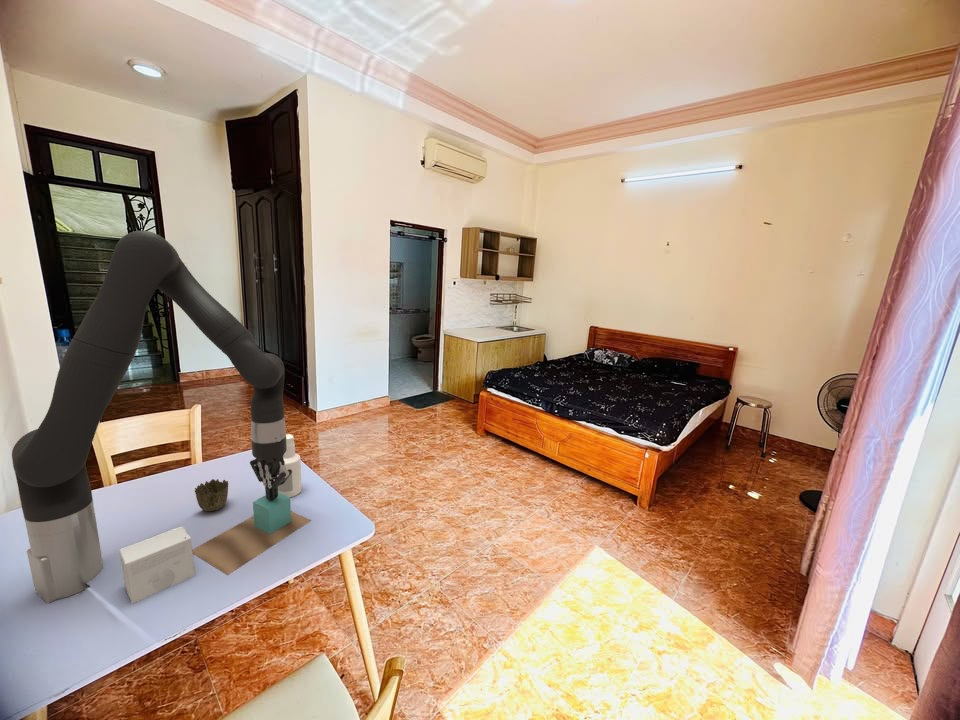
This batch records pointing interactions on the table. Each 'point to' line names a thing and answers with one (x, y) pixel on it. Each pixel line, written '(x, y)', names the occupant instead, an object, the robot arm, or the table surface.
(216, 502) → the bronze textured bowl
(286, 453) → the spray bottle
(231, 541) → the board
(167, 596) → the table surface
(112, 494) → the table surface
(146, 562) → the skincare box
